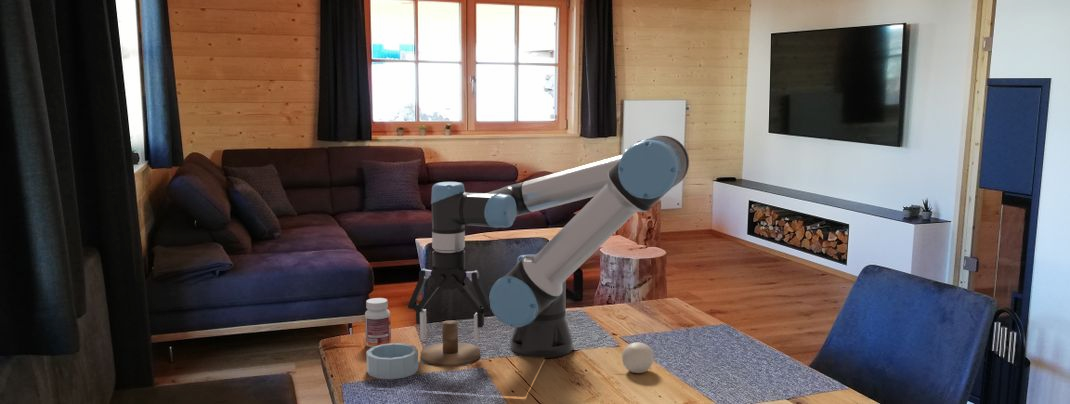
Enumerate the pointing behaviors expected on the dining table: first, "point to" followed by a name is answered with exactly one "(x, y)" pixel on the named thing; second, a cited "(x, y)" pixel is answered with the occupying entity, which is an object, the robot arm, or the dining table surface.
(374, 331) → the pill bottle
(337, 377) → the dining table surface
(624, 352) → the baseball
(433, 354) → the lid
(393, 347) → the bowl
